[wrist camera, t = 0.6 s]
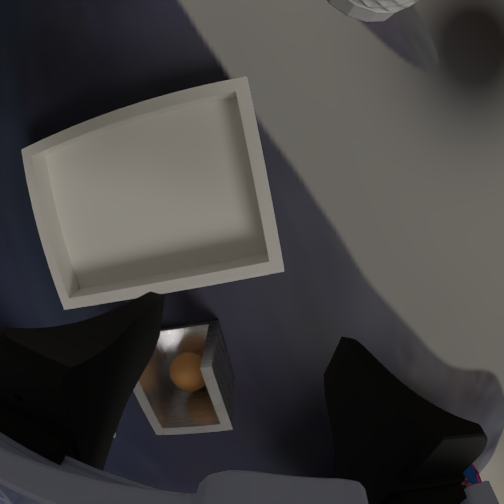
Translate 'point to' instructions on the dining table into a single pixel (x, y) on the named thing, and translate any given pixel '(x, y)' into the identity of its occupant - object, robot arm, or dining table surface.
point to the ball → (187, 372)
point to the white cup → (371, 8)
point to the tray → (155, 197)
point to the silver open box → (189, 402)
